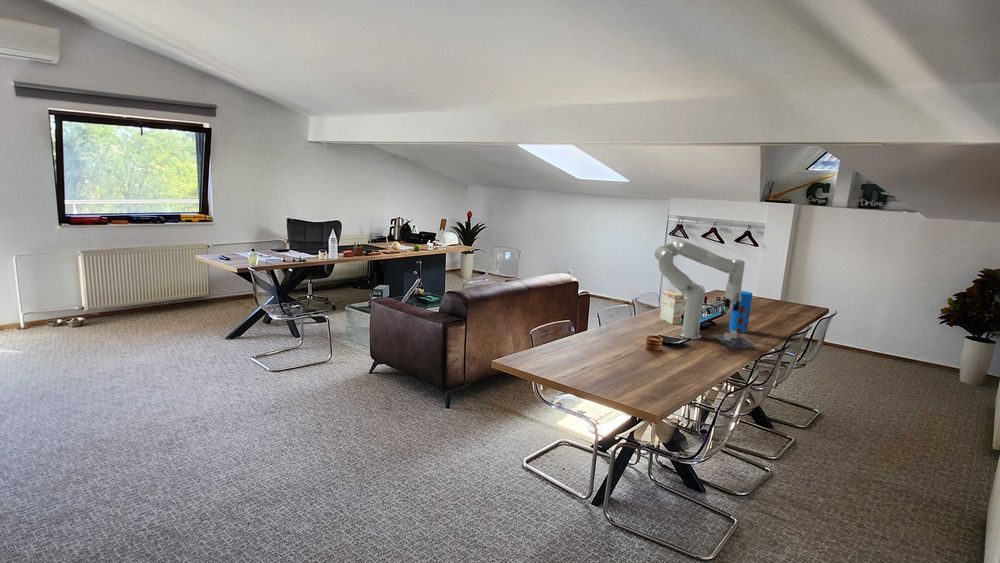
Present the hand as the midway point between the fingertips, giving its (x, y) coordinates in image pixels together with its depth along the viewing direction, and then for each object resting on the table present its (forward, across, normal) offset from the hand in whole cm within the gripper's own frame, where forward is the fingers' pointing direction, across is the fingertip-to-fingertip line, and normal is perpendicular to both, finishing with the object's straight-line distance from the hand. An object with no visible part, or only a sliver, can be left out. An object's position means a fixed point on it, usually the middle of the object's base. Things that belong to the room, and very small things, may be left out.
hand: (731, 308), depth 331 cm
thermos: (+18, -18, +18) cm, 31 cm away
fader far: (+16, +6, 0) cm, 17 cm away
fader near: (+16, +11, -6) cm, 20 cm away
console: (+18, +10, -3) cm, 21 cm away
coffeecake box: (+19, -38, -19) cm, 47 cm away
